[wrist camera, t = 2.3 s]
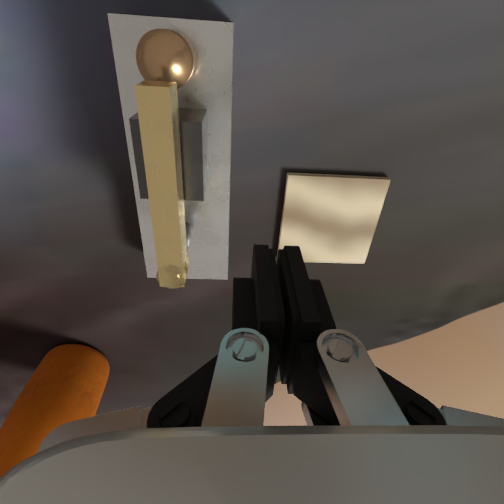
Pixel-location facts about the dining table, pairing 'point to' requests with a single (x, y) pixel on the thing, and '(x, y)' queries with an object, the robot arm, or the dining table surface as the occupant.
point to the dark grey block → (192, 153)
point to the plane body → (189, 96)
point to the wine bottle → (53, 400)
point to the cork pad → (331, 215)
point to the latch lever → (164, 177)
